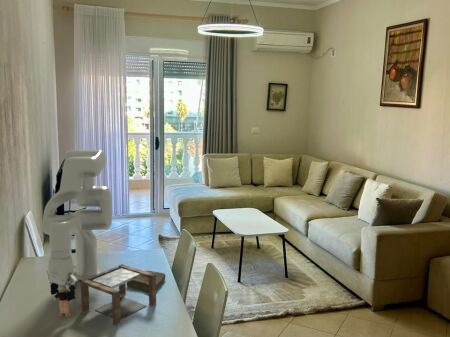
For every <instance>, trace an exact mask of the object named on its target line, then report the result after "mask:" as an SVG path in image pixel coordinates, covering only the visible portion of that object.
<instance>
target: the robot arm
mask: <svg viewBox="0 0 450 337" xmlns="http://www.w3.org/2000/svg"><path fill="white" fill-rule="evenodd" d="M106 159H107V156H106V154H105V151H103V150H102V149H69V150H67V151H66V152H65V154H64V162H63V168H62V174H61V179H60V186H59V190H58V191H57V192H56V193H55V194H54V195H53V196H52V197H51V198H50V199H49V200H48V201H47V203H46V205H45V207H44V210H43V216H42V223H41V229H42V232H43V233H44V234H46V235H48V238H49V258H48V266H47V269H48V270H47V271H46V274H47V279H48V281H49V285H50V295H52V296H53V295H56V294H57V293H59V292H60V290H58V287H59V285H61V286H66V288H67V290H66V291H65V292H66V293H67V301H68V302H69V301H70V300H71V301H73V300H74V299H76V287H77V286H78V283H79V281H81V280H83V279H86V280H88V278H89V277H92V276H94V275H97V274H99V273H102V270H101V269H99V267H98V266H99V263H98V238H97V236H96V234H95V233H94V231H106V230H109V229H110V228H111V226H112V222H113V220H112V219H113V215H112V213H113V212H112V211H113V210H112V192H111V190H110V188H109V187H107V186H105V185H95V177H98V176H99V175H100V174H101V173H102V171H103V169H104V167H105V165H106V161H107V160H106ZM73 199H74V200H75V203H76V204H75V205H77V207H85V208H87V207H89V208H91V207H92V208H91V209H78V210H76V211H75V212H74V213H73V214H72V215H69V214H67V215H66V214H65V215H64V214H62V215H61V214H60V215H57V214H55V212H56V210H57V209H58V207H60V206H62V205H63V204H65V203H68V202H69V201H72V200H73ZM94 207H95V208H96V209H94ZM97 207H98V208H99V209H97ZM72 236H74V240H75V241H74V243H75V261H76V262H75V264H74V261H73V257H72V256H73V254H72Z"/></svg>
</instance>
